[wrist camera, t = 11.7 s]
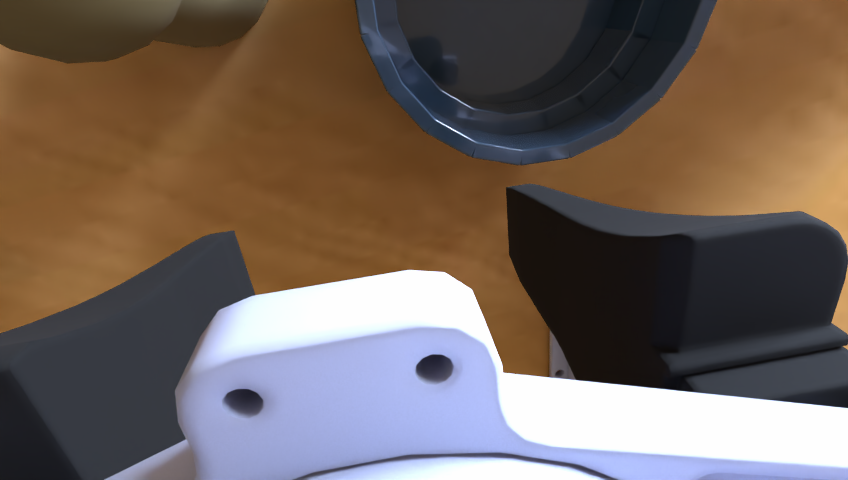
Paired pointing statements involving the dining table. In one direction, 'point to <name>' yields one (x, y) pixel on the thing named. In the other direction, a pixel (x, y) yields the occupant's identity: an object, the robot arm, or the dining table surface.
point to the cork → (120, 25)
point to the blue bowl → (529, 68)
